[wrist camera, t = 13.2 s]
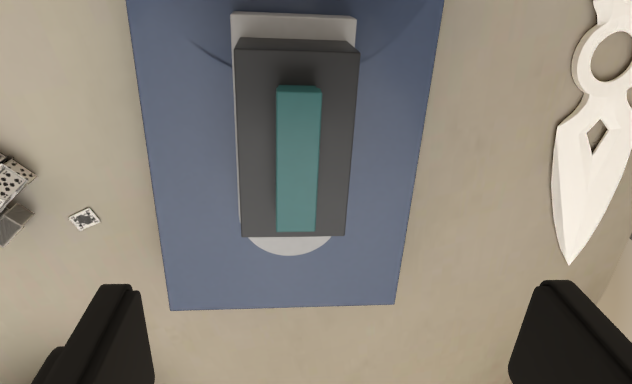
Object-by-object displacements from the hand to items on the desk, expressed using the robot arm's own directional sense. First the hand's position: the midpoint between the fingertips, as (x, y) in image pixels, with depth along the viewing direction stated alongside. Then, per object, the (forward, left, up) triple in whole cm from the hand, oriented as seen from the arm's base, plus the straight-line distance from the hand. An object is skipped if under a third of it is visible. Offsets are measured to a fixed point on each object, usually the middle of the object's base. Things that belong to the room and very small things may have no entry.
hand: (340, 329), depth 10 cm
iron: (+1, +1, -16) cm, 16 cm away
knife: (-21, -1, -20) cm, 29 cm away
